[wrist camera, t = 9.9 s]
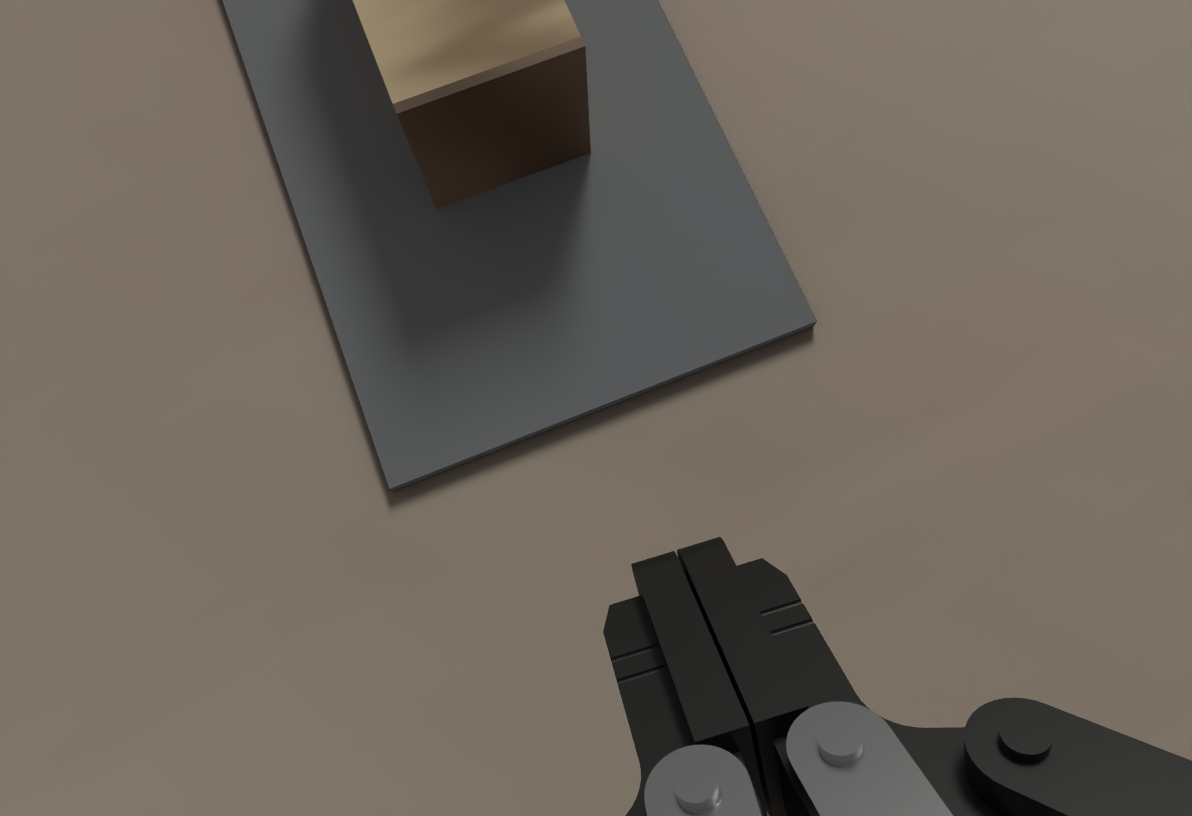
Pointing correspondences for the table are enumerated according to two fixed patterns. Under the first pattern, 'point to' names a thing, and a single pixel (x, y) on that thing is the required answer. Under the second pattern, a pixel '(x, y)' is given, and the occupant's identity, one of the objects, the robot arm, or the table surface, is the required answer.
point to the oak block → (482, 87)
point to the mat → (516, 239)
